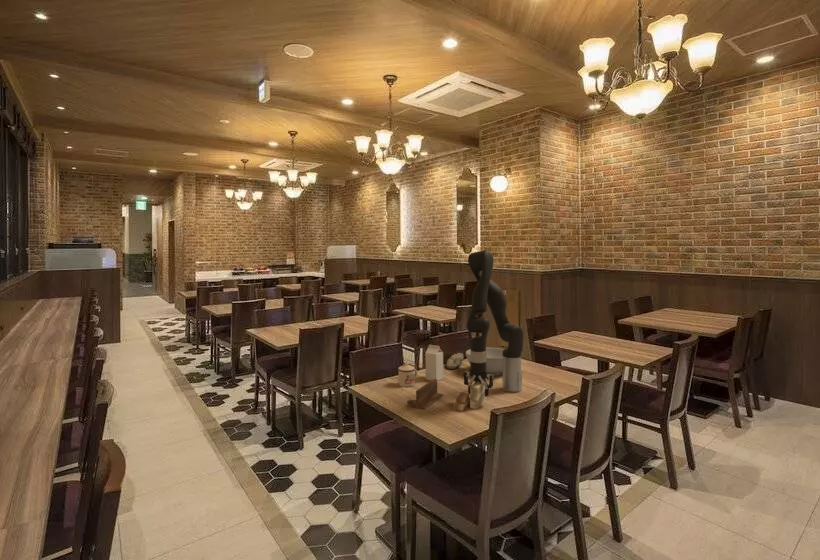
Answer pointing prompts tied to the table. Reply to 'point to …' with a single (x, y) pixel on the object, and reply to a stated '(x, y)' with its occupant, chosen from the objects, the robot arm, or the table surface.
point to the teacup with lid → (407, 375)
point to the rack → (425, 396)
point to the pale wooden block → (477, 395)
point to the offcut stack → (462, 401)
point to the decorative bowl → (492, 360)
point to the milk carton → (434, 363)
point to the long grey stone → (455, 361)
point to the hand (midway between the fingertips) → (478, 395)
